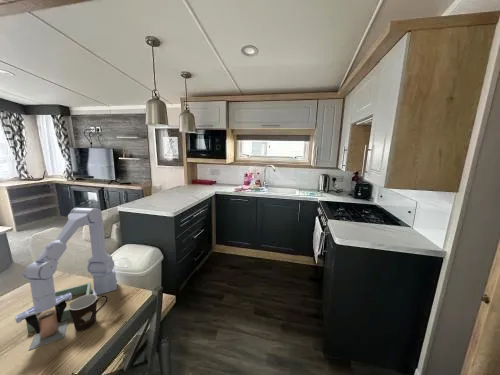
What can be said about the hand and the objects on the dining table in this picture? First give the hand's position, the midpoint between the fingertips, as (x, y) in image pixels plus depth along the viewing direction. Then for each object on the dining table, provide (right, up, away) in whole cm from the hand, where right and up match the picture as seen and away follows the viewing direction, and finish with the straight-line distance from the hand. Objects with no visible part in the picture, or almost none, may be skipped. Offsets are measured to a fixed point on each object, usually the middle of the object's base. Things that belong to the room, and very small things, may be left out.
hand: (48, 326), depth 75 cm
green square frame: (-7, -1, +14) cm, 16 cm away
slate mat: (0, -3, 0) cm, 3 cm away
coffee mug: (+11, -3, +6) cm, 13 cm away
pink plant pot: (0, -2, 0) cm, 2 cm away
